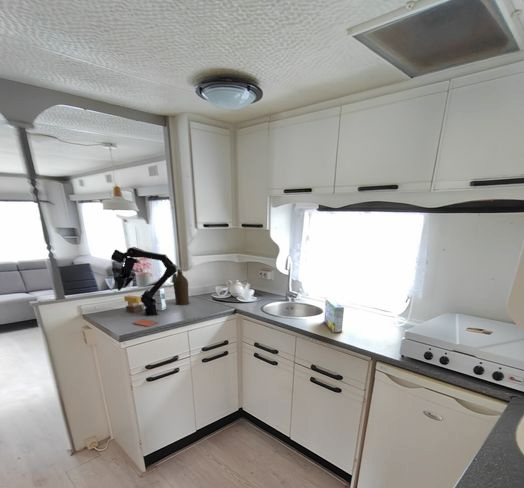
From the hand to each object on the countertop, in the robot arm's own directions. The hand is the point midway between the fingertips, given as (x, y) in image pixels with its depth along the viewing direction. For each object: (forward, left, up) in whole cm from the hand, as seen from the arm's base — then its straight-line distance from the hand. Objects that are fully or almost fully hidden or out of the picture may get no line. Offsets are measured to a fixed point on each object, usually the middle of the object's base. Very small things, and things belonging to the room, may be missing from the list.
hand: (122, 288), depth 209 cm
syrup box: (-23, -2, -17) cm, 29 cm away
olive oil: (-41, -12, -17) cm, 46 cm away
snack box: (-108, +81, -17) cm, 136 cm away
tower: (-6, -4, -17) cm, 18 cm away
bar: (-6, -4, -10) cm, 12 cm away
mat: (-8, +27, -17) cm, 33 cm away
